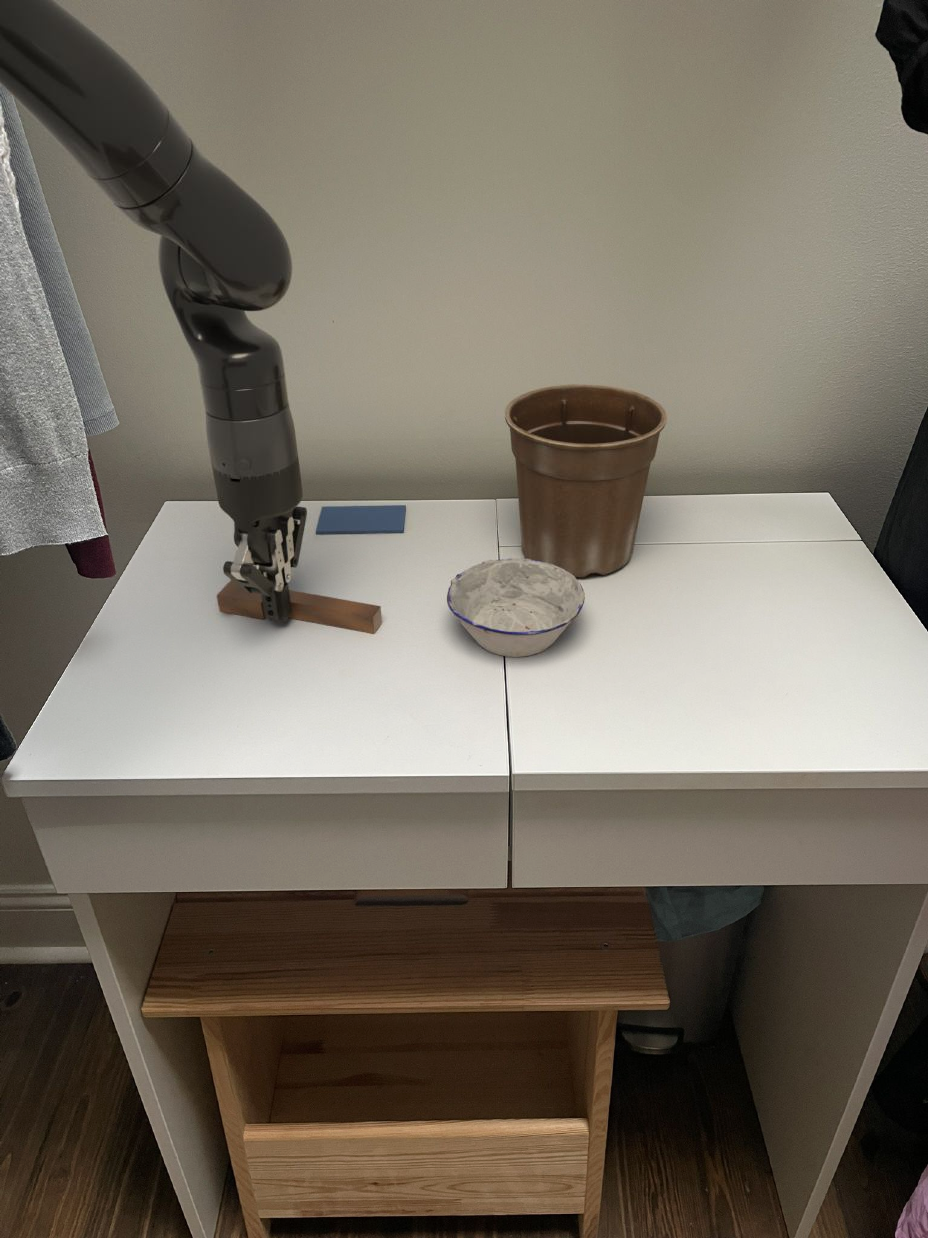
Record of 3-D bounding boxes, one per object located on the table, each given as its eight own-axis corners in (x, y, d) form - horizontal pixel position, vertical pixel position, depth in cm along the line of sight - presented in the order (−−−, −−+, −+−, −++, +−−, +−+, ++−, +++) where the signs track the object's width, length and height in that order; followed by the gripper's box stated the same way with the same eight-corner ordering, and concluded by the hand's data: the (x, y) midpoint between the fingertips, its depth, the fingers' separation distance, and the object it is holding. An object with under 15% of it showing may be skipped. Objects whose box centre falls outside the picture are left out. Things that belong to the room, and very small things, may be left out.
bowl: (444, 672, 87) (442, 629, 84) (452, 595, 97) (451, 555, 94) (586, 674, 86) (589, 631, 83) (578, 597, 96) (581, 556, 94)
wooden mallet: (385, 617, 94) (384, 600, 93) (370, 639, 91) (368, 622, 90) (239, 590, 98) (236, 574, 97) (219, 611, 95) (216, 595, 94)
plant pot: (533, 504, 113) (537, 373, 104) (667, 529, 107) (683, 393, 98) (480, 571, 101) (479, 429, 92) (628, 603, 95) (642, 456, 86)
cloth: (405, 507, 113) (405, 504, 113) (403, 532, 108) (403, 529, 108) (322, 509, 113) (321, 506, 113) (316, 534, 108) (315, 531, 108)
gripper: (251, 421, 89) (274, 577, 99) (176, 481, 79) (211, 649, 88) (324, 429, 87) (340, 588, 97) (258, 492, 77) (284, 663, 86)
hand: (279, 617), depth 93 cm, fingers closed
